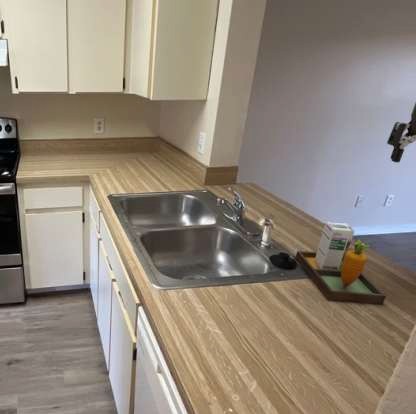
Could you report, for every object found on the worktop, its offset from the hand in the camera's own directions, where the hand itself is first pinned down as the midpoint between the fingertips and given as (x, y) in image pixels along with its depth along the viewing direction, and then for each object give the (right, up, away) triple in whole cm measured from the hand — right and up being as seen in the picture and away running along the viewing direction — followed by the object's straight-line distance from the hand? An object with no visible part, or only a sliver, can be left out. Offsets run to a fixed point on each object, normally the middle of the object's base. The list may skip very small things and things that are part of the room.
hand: (412, 162), depth 89 cm
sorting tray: (-12, -34, +12) cm, 38 cm away
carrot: (-13, -35, +7) cm, 38 cm away
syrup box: (-12, -31, +17) cm, 37 cm away
